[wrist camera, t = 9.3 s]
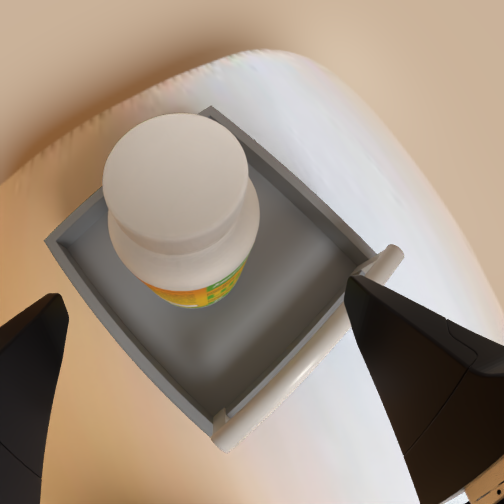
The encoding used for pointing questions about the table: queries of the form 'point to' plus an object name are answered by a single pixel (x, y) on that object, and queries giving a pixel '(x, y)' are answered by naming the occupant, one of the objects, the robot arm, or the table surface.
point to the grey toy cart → (231, 302)
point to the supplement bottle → (181, 207)
